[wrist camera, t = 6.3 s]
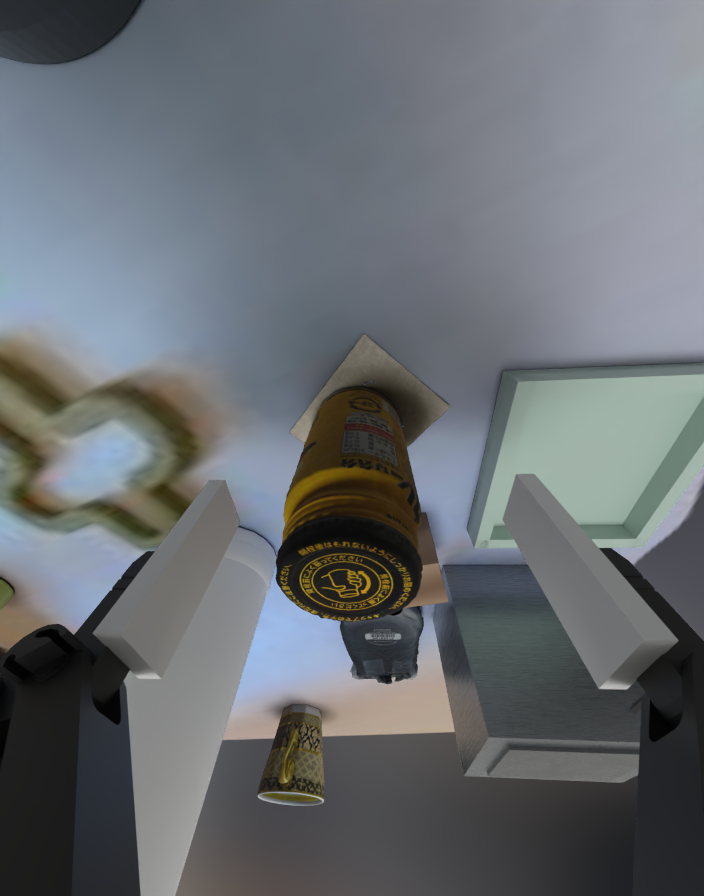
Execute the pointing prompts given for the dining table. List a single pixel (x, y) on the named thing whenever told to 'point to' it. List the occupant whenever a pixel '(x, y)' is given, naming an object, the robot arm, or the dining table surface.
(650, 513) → the tray
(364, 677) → the electronic device
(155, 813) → the bottle
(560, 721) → the unit
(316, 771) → the ceramic cup
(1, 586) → the plant pot
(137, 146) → the dining table surface
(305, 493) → the condiment
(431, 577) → the walnut block
